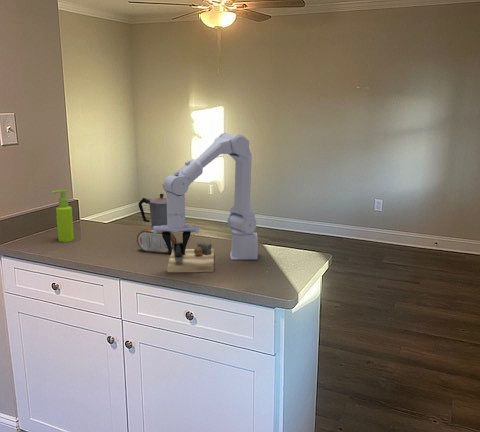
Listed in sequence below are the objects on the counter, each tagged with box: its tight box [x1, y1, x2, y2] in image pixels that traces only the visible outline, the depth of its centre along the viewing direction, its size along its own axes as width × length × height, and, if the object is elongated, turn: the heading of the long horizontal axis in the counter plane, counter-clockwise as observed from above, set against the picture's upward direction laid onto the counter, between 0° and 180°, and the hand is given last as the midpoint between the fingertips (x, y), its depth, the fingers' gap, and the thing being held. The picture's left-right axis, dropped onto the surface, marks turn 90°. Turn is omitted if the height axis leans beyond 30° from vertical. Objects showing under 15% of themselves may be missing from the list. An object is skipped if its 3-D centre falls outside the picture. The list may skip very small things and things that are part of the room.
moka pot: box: [138, 193, 167, 229], centre depth 189 cm, size 10×15×20 cm, turn 89°
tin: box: [136, 228, 178, 254], centre depth 181 cm, size 15×3×8 cm, turn 74°
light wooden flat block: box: [166, 241, 215, 273], centre depth 170 cm, size 19×15×6 cm
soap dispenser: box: [51, 189, 75, 243], centre depth 194 cm, size 6×7×20 cm
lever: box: [173, 241, 187, 261], centre depth 168 cm, size 18×4×7 cm, turn 6°
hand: (177, 253), depth 161 cm, fingers open, 4 cm apart
